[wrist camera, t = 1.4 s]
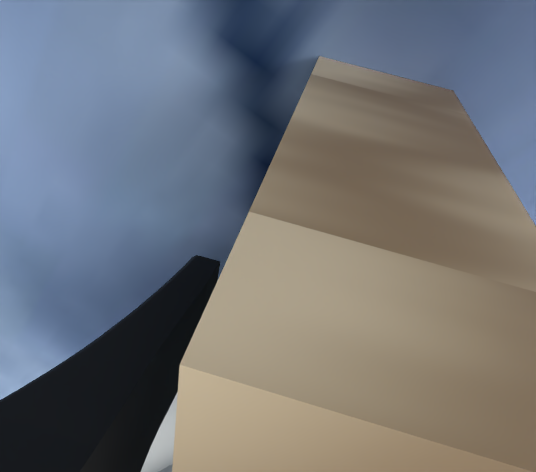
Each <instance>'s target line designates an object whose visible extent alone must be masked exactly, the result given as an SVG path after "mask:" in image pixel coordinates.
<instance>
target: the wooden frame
mask: <svg viewBox="0 0 536 472" xmlns="http://www.w3.org/2000/svg"><path fill="white" fill-rule="evenodd" d="M172 472H536V226H535V224H534V223H533V221H532V219H531V218H530V216H529V214H528V213H527V211H526V209H525V208H524V206H523V204H522V203H521V201H520V200H519V198H518V196H517V195H516V193H515V191H514V190H513V188H512V186H511V185H510V183H509V181H508V180H507V178H506V177H505V175H504V173H503V172H502V170H501V168H500V167H499V165H498V163H497V162H496V160H495V158H494V157H493V155H492V154H491V152H490V150H489V149H488V147H487V145H486V144H485V142H484V140H483V139H482V137H481V136H480V134H479V132H478V131H477V129H476V127H475V126H474V124H473V122H472V121H471V119H470V117H469V116H468V114H467V113H466V111H465V109H464V108H463V106H462V104H461V103H460V101H459V99H458V98H457V96H456V94H455V93H454V91H453V90H449V89H445V88H441V87H437V86H433V85H429V84H426V83H422V82H418V81H414V80H410V79H406V78H402V77H398V76H395V75H391V74H387V73H383V72H379V71H375V70H371V69H368V68H364V67H360V66H356V65H352V64H348V63H344V62H340V61H337V60H333V59H329V58H325V57H321V56H319V58H318V60H317V62H316V65H315V67H314V69H313V71H312V73H311V76H310V78H309V80H308V82H307V84H306V87H305V89H304V91H303V93H302V95H301V98H300V100H299V102H298V104H297V106H296V109H295V111H294V113H293V115H292V118H291V120H290V122H289V124H288V126H287V129H286V131H285V133H284V135H283V137H282V140H281V142H280V144H279V146H278V148H277V151H276V153H275V155H274V157H273V160H272V162H271V164H270V166H269V168H268V171H267V173H266V175H265V177H264V179H263V182H262V184H261V186H260V188H259V190H258V193H257V195H256V197H255V199H254V201H253V204H252V206H251V208H250V210H249V213H248V215H247V217H246V219H245V221H244V224H243V226H242V228H241V230H240V232H239V235H238V237H237V239H236V241H235V243H234V246H233V248H232V250H231V252H230V254H229V257H228V259H227V261H226V263H225V266H224V268H223V270H222V272H221V274H220V277H219V279H218V281H217V283H216V285H215V288H214V290H213V292H212V294H211V296H210V299H209V301H208V303H207V305H206V308H205V310H204V312H203V314H202V316H201V319H200V321H199V323H198V325H197V327H196V330H195V332H194V334H193V336H192V338H191V341H190V343H189V345H188V347H187V349H186V352H185V354H184V356H183V358H182V361H181V363H180V367H179V381H178V395H177V409H176V423H175V437H174V452H173V466H172Z"/></svg>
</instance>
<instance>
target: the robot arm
mask: <svg viewBox="0 0 536 472" xmlns="http://www.w3.org/2000/svg"><path fill="white" fill-rule="evenodd" d="M219 266H220V262H219V261H216V260H212V259H209V258H205V257H202V256H198V255H196V256H194V257H192V258H191V259H190V260H189V262H188V263H187V264H186V265H185V266H184V267H183V268H181V269H180V270H179V271H178V272H177V273H176V274H175V275H174V276H173V277H172V278H171V279H170V280H169V281H168V282H167V283H165V284H164V285H163V286H162V287H161V288H160V289H159V290H158V291H157V292H155V293H154V294H153V295H152V296H151V297H149V298H148V299H147V300H146V301H145V302H143V303H142V304H141V305H140V306H139V307H138V308H136V309H135V310H134V311H133V312H131V313H130V314H129V315H128V316H126V317H125V318H124V319H122V320H121V321H120V322H119V323H117V324H116V325H115V326H113V327H112V328H111V329H109V330H108V331H107V332H105V333H104V334H103V335H101V336H100V337H99V338H97V339H96V340H95V341H93V342H92V343H90V344H89V345H87V346H86V347H85V348H83V349H82V350H80V351H79V352H77V353H76V354H74V355H73V356H71V357H70V358H68V359H67V360H65V361H64V362H62V363H61V364H59V365H58V366H56V367H55V368H53V369H51V370H50V371H48V372H47V373H45V374H43V375H42V376H40V377H38V378H37V379H35V380H33V381H32V382H30V383H29V384H27V385H25V386H24V387H22V388H20V389H19V390H17V391H15V392H14V393H12V394H10V395H8V396H7V397H5V398H3V399H1V400H0V472H141V470H142V467H143V465H144V462H145V460H146V457H147V455H148V452H149V450H150V447H151V445H152V443H153V441H154V438H155V436H156V434H157V432H158V430H159V428H160V426H161V424H162V422H163V420H164V418H165V416H166V414H167V412H168V410H169V408H170V406H171V404H172V402H173V400H174V398H175V396H176V394H177V392H178V381H179V367H180V363H181V361H182V358H183V356H184V354H185V352H186V349H187V347H188V345H189V343H190V341H191V338H192V336H193V334H194V332H195V330H196V327H197V325H198V323H199V321H200V319H201V316H202V314H203V312H204V310H205V308H206V305H207V303H208V301H209V299H210V296H211V294H212V292H213V290H214V288H215V285H216V283H217V279H218V273H219Z"/></svg>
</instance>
